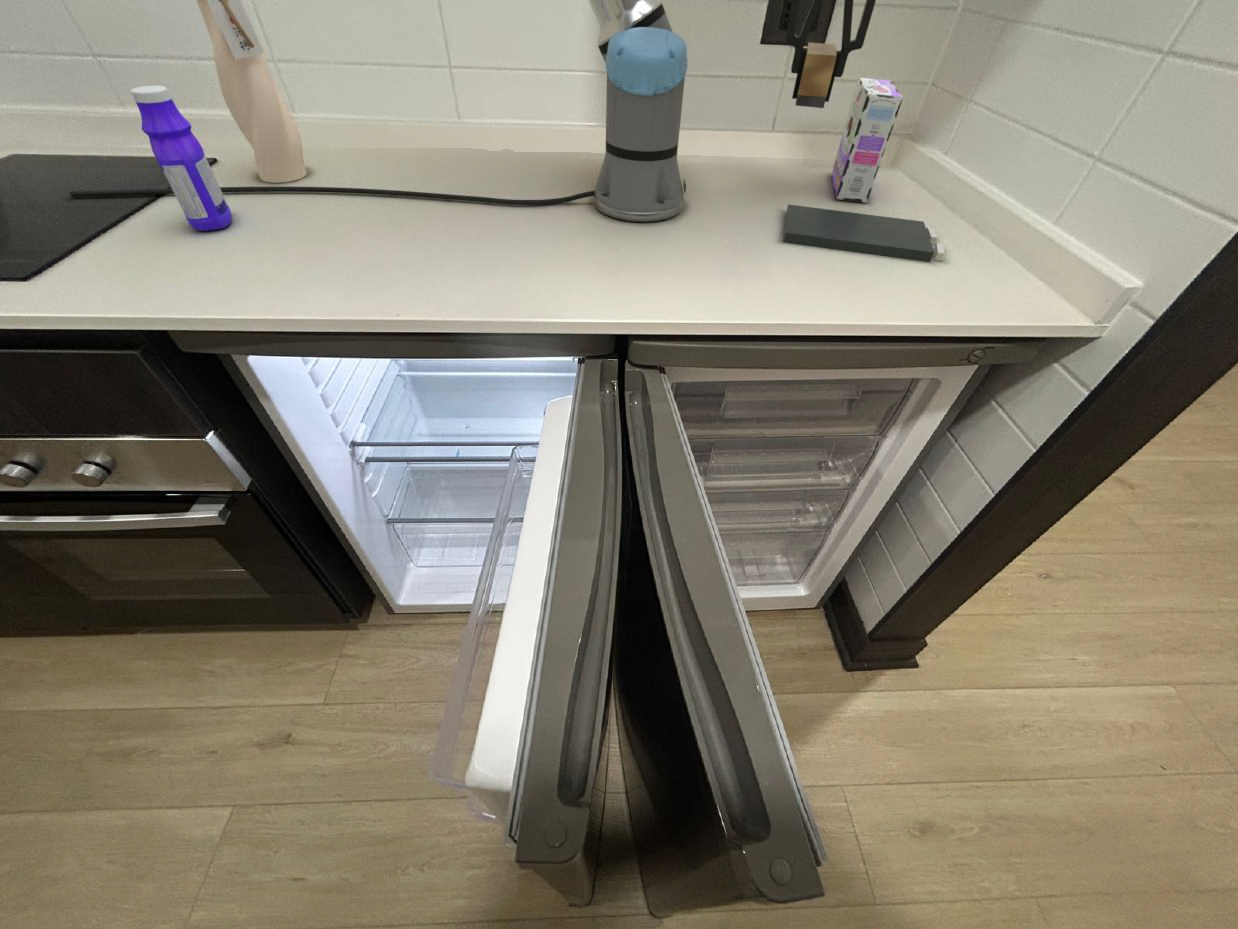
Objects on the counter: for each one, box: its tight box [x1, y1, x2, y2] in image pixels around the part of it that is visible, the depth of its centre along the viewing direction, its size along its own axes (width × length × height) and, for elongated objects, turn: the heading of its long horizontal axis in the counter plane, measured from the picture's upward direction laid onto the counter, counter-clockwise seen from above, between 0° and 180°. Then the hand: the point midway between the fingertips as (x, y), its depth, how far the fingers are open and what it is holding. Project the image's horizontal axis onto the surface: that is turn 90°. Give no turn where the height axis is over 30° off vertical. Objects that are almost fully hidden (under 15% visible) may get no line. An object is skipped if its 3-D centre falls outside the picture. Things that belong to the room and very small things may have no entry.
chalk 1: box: [926, 226, 939, 246], centre depth 89 cm, size 4×1×1 cm
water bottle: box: [196, 0, 308, 184], centre depth 89 cm, size 10×9×28 cm
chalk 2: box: [933, 241, 945, 262], centre depth 85 cm, size 4×1×1 cm
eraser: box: [795, 42, 837, 109], centre depth 91 cm, size 4×10×7 cm, turn 165°
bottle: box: [130, 85, 233, 232], centre depth 78 cm, size 7×6×17 cm
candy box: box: [830, 77, 904, 204], centre depth 98 cm, size 14×6×16 cm, turn 168°
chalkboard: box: [783, 203, 934, 263], centre depth 89 cm, size 22×12×2 cm, turn 76°
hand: (810, 97), depth 93 cm, fingers closed on eraser, 4 cm apart
